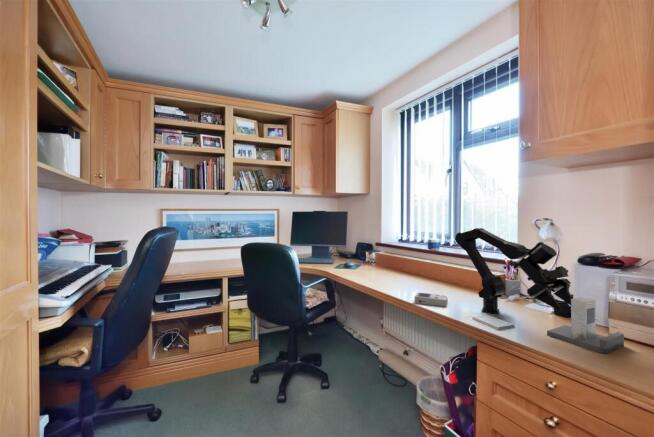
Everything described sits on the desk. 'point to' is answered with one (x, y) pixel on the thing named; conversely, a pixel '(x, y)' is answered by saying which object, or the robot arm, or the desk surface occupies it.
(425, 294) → the handheld gaming device
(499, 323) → the hard drive
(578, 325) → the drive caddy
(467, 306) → the desk surface
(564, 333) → the drive dock
